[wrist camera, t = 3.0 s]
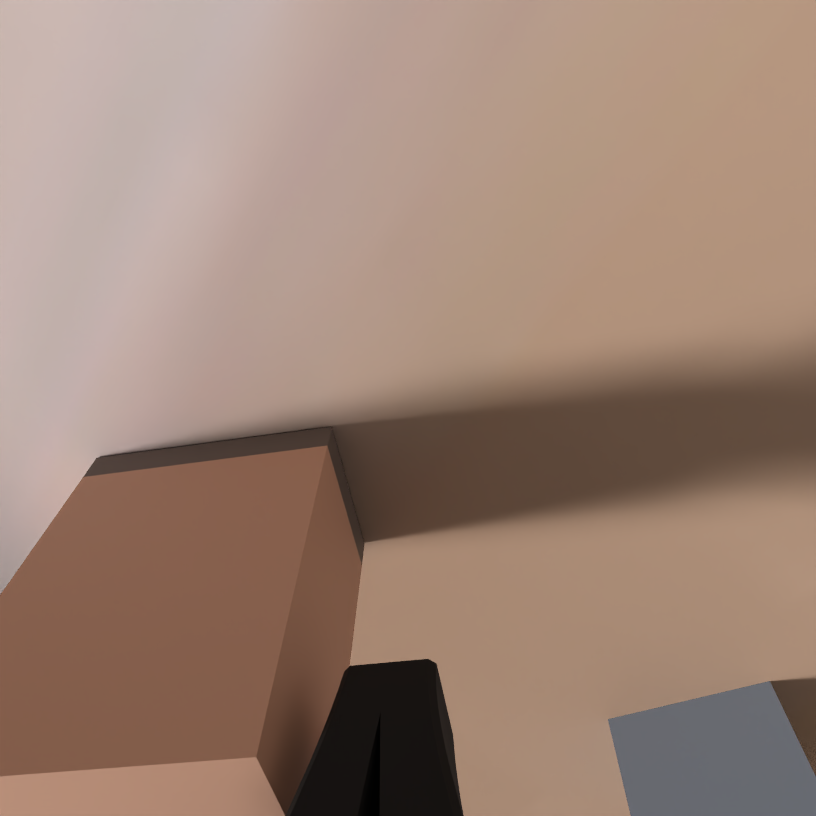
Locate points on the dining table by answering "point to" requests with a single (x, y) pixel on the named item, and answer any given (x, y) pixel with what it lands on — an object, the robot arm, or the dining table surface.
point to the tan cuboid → (180, 632)
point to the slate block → (715, 758)
